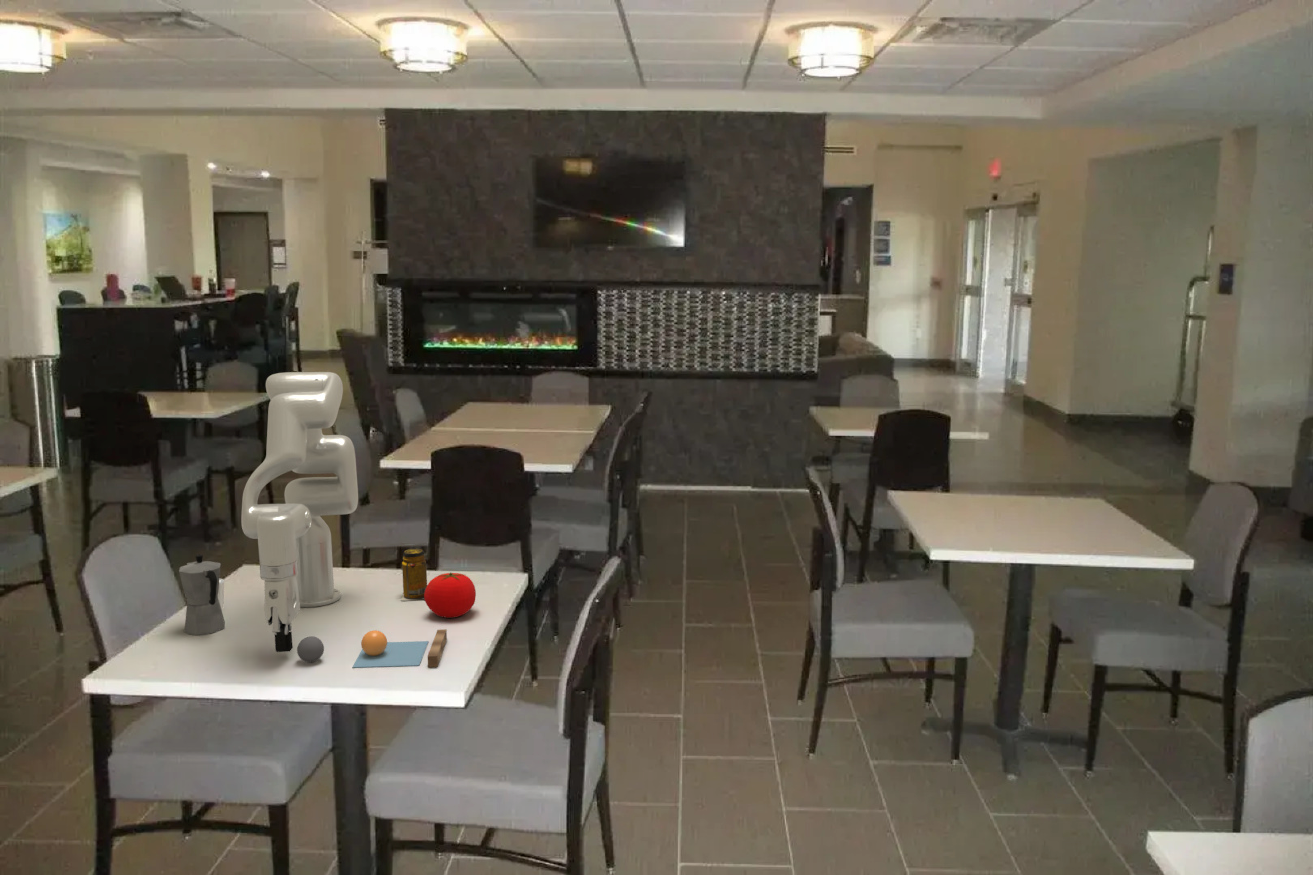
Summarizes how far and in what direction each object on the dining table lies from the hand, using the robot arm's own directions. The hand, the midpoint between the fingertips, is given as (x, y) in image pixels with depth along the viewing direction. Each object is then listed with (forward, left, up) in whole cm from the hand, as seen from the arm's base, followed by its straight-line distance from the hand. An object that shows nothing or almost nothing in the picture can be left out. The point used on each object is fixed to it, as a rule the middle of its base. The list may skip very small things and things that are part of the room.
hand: (284, 650), depth 226 cm
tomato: (-25, +33, -2) cm, 41 cm away
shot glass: (-34, -27, -2) cm, 43 cm away
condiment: (-40, +23, -2) cm, 46 cm away
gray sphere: (+3, +6, +1) cm, 7 cm away
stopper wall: (0, +33, -2) cm, 33 cm away
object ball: (0, +19, +1) cm, 19 cm away
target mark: (0, +23, -2) cm, 23 cm away
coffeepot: (-19, -23, -2) cm, 30 cm away
